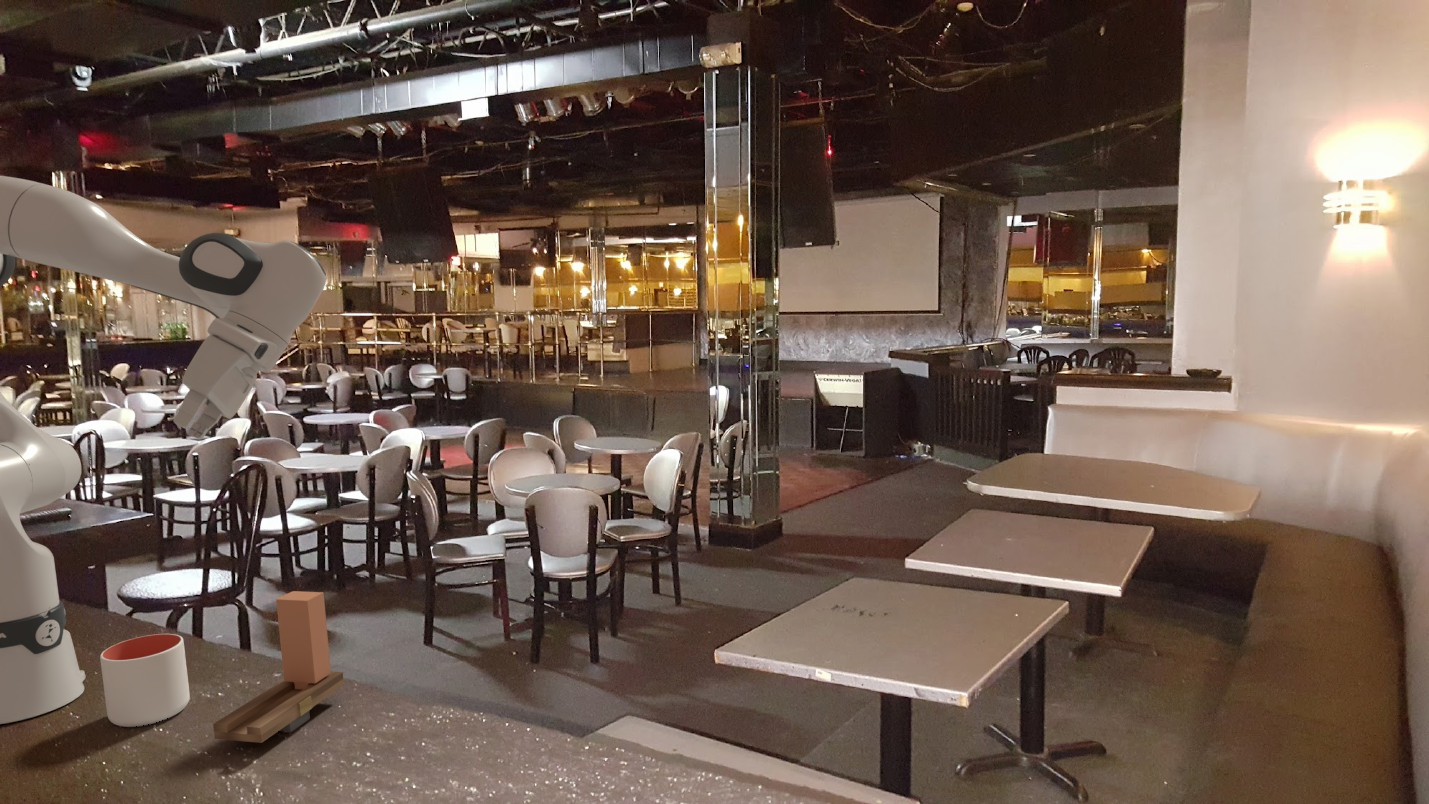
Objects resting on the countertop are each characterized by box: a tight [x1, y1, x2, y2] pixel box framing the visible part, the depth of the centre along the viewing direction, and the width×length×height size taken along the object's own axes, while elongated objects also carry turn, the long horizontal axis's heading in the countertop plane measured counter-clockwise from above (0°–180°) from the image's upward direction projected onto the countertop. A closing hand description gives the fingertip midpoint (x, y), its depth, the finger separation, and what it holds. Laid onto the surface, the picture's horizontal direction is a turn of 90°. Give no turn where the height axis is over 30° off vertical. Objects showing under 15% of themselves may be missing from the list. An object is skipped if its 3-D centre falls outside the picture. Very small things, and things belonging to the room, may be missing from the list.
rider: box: [275, 590, 332, 689], centre depth 129 cm, size 5×4×13 cm
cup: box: [99, 633, 191, 728], centre depth 129 cm, size 10×10×10 cm
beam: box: [212, 670, 345, 744], centre depth 124 cm, size 7×17×4 cm, turn 167°
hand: (187, 431), depth 123 cm, fingers open, 8 cm apart
